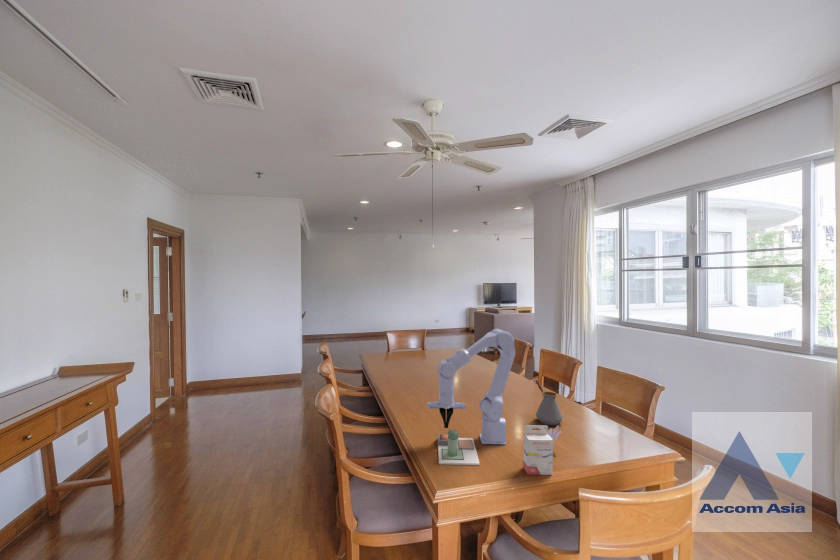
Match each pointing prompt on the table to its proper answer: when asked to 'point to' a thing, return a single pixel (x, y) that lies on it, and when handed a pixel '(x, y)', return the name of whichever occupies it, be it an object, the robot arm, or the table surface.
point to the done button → (444, 437)
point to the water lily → (554, 435)
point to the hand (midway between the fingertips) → (446, 427)
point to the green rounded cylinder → (452, 442)
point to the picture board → (464, 454)
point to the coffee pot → (548, 408)
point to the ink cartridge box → (537, 450)
